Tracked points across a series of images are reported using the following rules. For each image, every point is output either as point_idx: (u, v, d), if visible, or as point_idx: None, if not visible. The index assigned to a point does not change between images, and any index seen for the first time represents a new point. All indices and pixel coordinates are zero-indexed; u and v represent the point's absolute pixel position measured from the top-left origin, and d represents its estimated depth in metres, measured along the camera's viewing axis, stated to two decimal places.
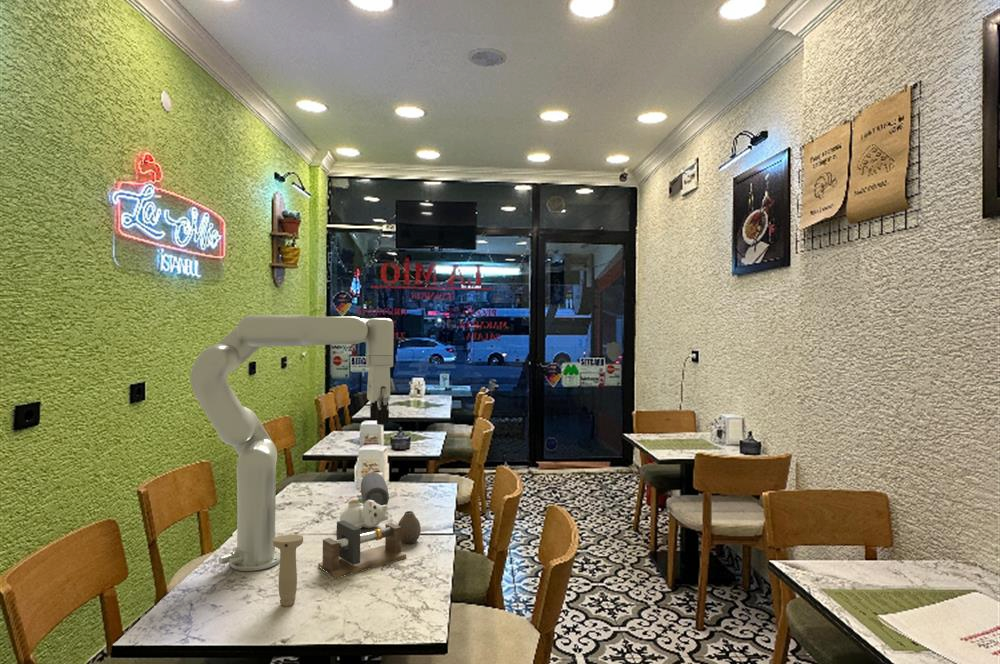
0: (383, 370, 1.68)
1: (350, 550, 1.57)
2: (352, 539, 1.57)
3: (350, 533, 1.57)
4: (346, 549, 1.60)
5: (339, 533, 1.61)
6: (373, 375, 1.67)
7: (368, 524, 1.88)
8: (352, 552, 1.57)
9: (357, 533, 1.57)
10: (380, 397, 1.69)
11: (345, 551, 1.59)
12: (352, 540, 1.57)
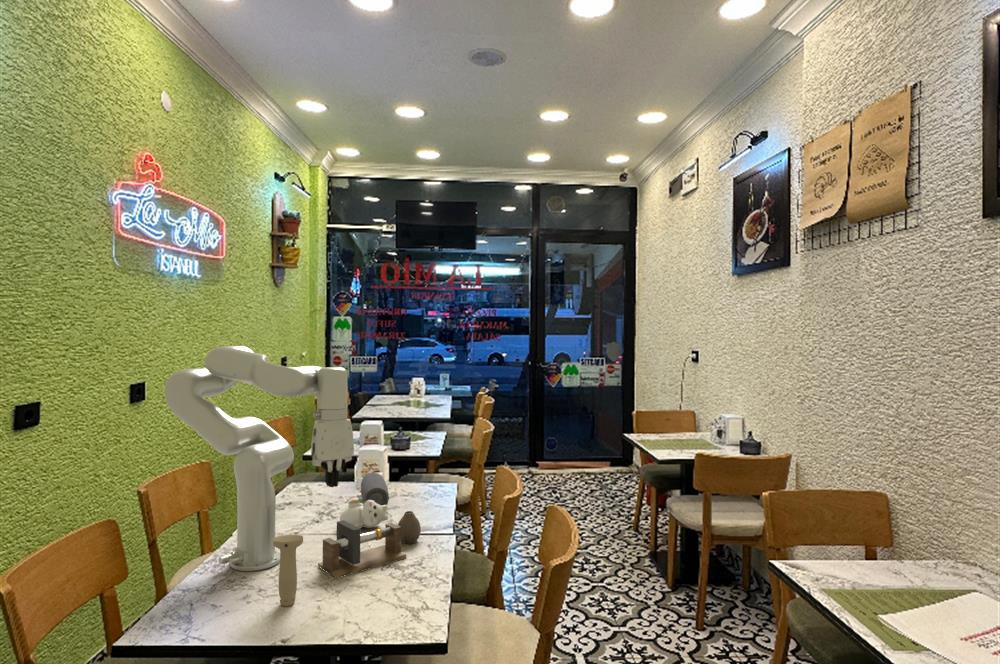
0: None
1: (350, 550, 1.57)
2: (352, 539, 1.57)
3: (350, 533, 1.57)
4: (346, 549, 1.60)
5: (339, 533, 1.61)
6: (350, 428, 1.57)
7: (368, 524, 1.88)
8: (352, 552, 1.57)
9: (357, 533, 1.57)
10: None
11: (345, 551, 1.59)
12: (352, 540, 1.57)
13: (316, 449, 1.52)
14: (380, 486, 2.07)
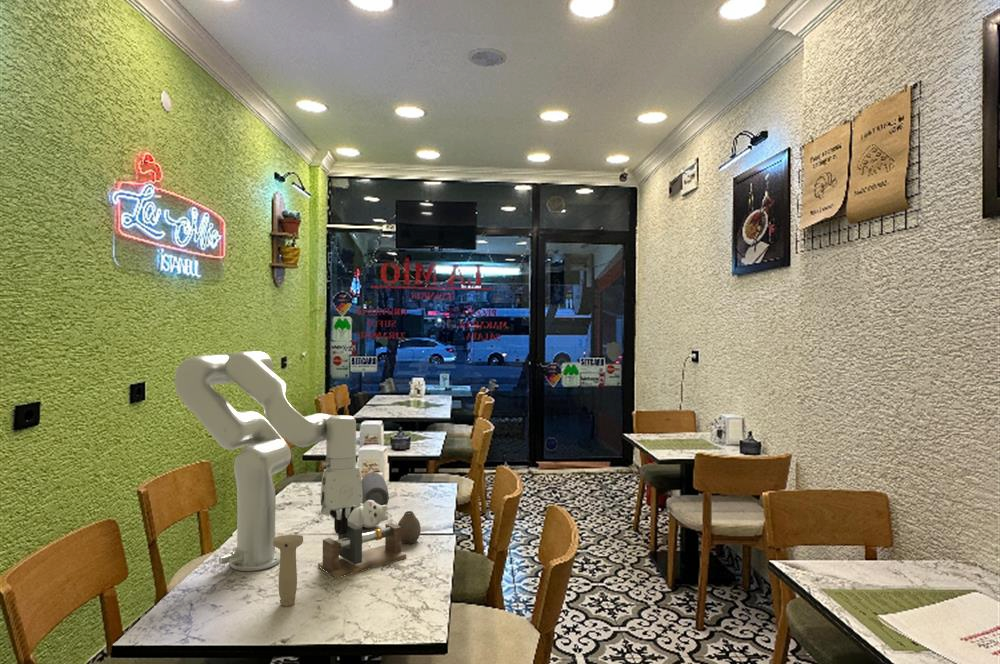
0: None
1: (352, 550, 1.58)
2: (354, 539, 1.57)
3: (352, 532, 1.58)
4: (348, 549, 1.60)
5: None
6: (358, 476, 1.59)
7: (368, 524, 1.88)
8: (354, 552, 1.57)
9: (359, 533, 1.57)
10: None
11: (347, 551, 1.60)
12: (354, 540, 1.57)
13: (325, 498, 1.54)
14: (380, 486, 2.07)
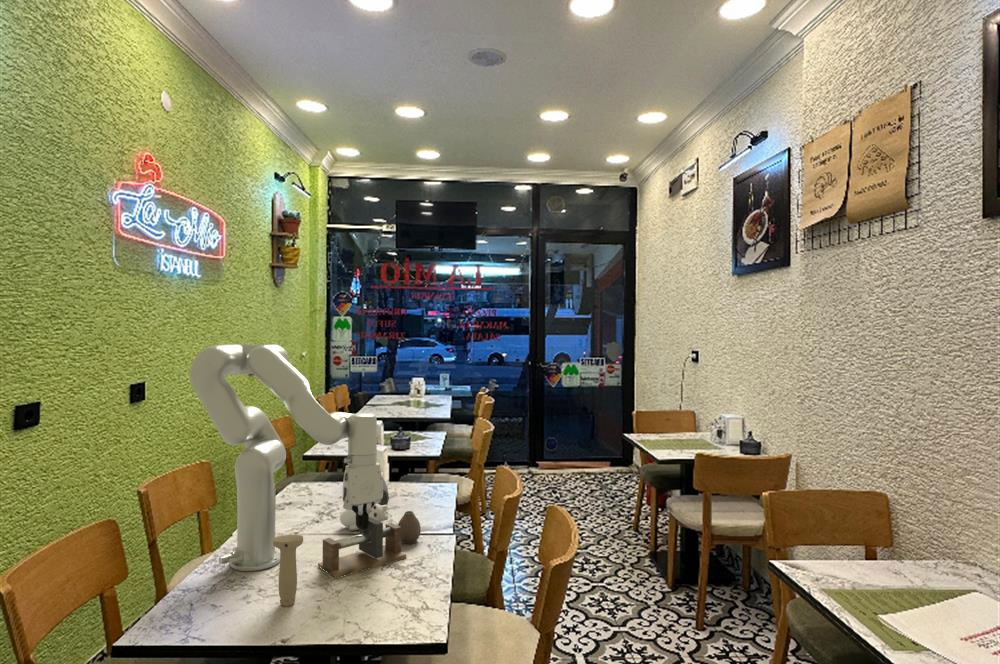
0: None
1: (373, 544, 1.62)
2: (375, 533, 1.61)
3: (373, 527, 1.62)
4: (369, 543, 1.64)
5: None
6: (379, 472, 1.63)
7: None
8: (375, 546, 1.61)
9: (380, 527, 1.62)
10: None
11: (368, 545, 1.64)
12: (375, 534, 1.61)
13: (347, 494, 1.58)
14: None
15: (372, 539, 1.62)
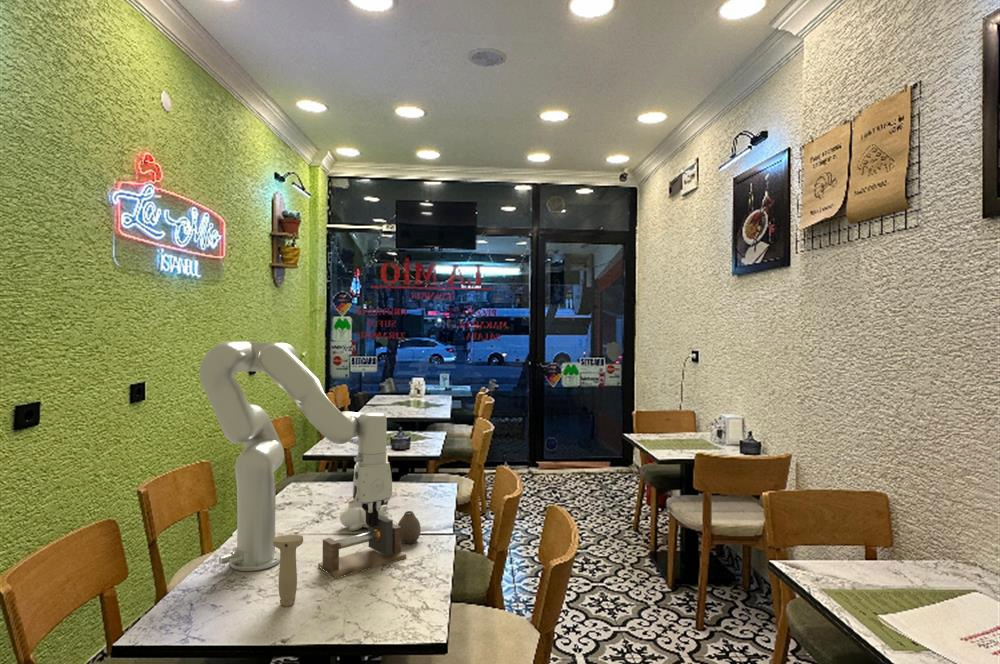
0: None
1: (383, 541, 1.64)
2: (385, 531, 1.63)
3: (383, 525, 1.64)
4: (378, 540, 1.66)
5: None
6: (389, 471, 1.66)
7: None
8: (385, 543, 1.63)
9: (389, 525, 1.64)
10: None
11: (377, 542, 1.66)
12: (385, 532, 1.63)
13: (358, 492, 1.60)
14: None
15: (382, 536, 1.64)
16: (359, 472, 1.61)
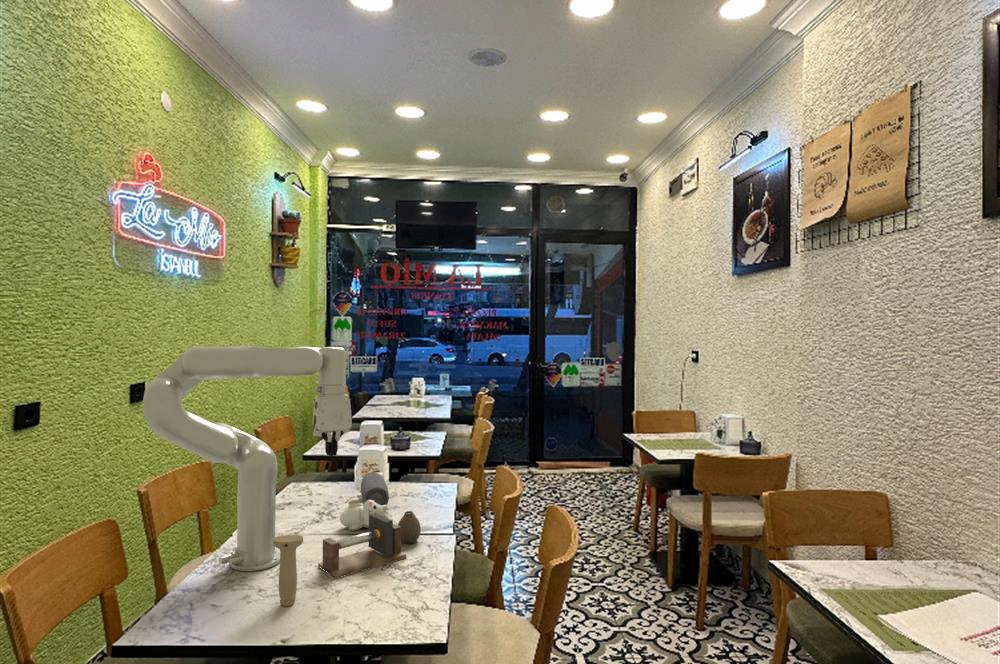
0: None
1: (383, 541, 1.64)
2: (385, 531, 1.63)
3: (383, 525, 1.64)
4: (378, 540, 1.66)
5: (372, 525, 1.68)
6: (348, 403, 1.72)
7: (368, 524, 1.88)
8: (385, 543, 1.63)
9: (389, 525, 1.64)
10: None
11: (377, 542, 1.66)
12: (385, 532, 1.63)
13: (317, 421, 1.67)
14: (380, 486, 2.07)
15: (382, 536, 1.64)
16: (318, 402, 1.67)
